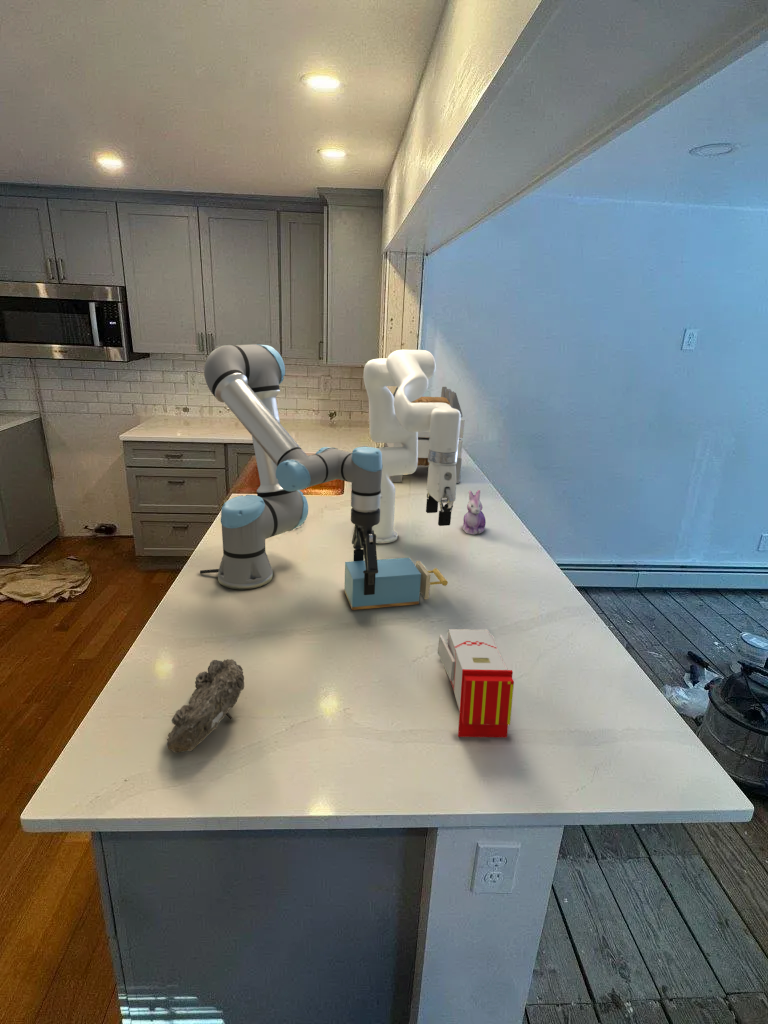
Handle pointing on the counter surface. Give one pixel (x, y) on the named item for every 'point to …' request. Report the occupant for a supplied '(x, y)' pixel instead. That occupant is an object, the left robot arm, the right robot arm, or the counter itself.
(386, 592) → the cabinet
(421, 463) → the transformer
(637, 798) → the counter surface
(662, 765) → the counter surface
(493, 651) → the toy
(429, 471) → the right robot arm
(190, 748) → the fossil
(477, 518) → the figurine
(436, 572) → the drawer
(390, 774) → the counter surface
